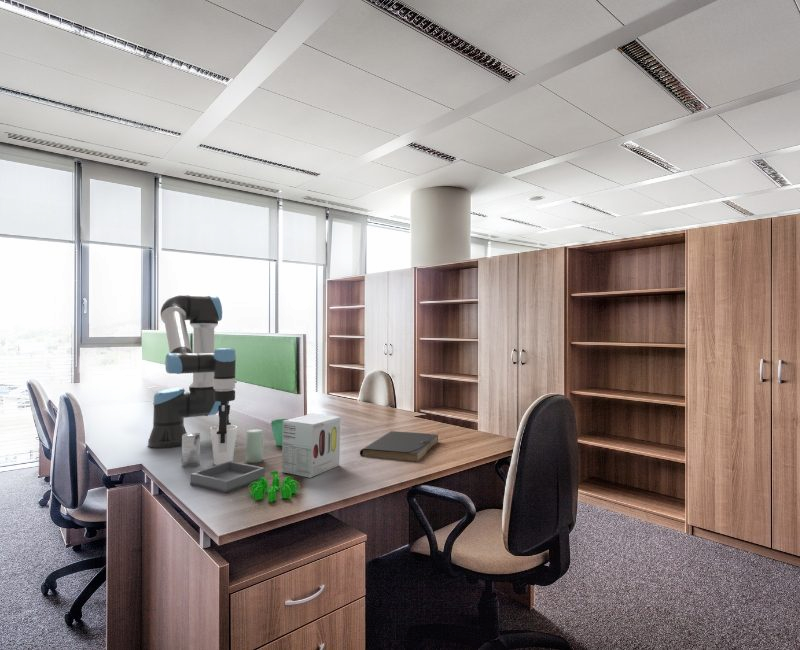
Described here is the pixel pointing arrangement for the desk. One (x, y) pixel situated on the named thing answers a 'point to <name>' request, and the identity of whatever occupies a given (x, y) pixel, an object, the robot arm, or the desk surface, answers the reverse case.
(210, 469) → the tray
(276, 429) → the mug
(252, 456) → the sage canister
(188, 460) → the steel canister
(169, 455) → the desk surface
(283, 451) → the supplement box
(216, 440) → the foam cup
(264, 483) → the green leafy sprig
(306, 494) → the desk surface
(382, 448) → the dark grey book
